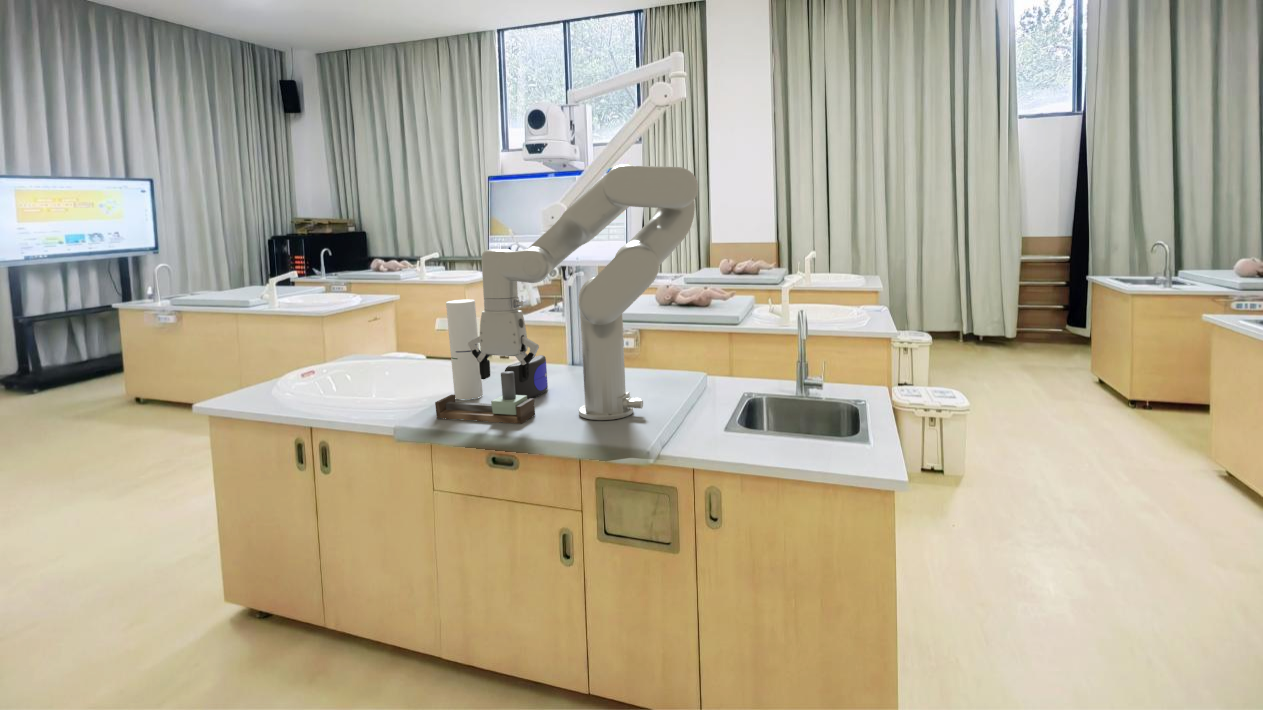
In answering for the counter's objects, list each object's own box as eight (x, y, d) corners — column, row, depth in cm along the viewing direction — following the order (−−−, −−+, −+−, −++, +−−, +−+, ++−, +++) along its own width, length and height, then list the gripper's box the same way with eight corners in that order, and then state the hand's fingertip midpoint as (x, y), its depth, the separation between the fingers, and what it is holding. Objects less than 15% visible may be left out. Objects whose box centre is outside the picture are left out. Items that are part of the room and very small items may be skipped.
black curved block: (520, 405, 180) (517, 367, 178) (505, 403, 182) (502, 366, 180) (557, 389, 193) (554, 354, 192) (543, 388, 196) (540, 353, 194)
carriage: (527, 407, 169) (525, 370, 168) (515, 415, 164) (513, 376, 162) (504, 406, 171) (501, 369, 169) (492, 413, 166) (489, 375, 164)
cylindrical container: (476, 400, 185) (467, 303, 180) (450, 400, 186) (441, 303, 181) (487, 393, 192) (479, 299, 187) (461, 393, 193) (453, 299, 188)
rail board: (535, 415, 170) (533, 398, 169) (521, 423, 163) (520, 406, 162) (452, 410, 177) (451, 394, 176) (436, 418, 170) (435, 402, 169)
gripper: (543, 304, 163) (546, 378, 167) (475, 301, 169) (479, 373, 172) (528, 308, 156) (531, 385, 160) (458, 306, 162) (462, 380, 165)
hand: (504, 379), depth 166 cm, fingers open, 9 cm apart
